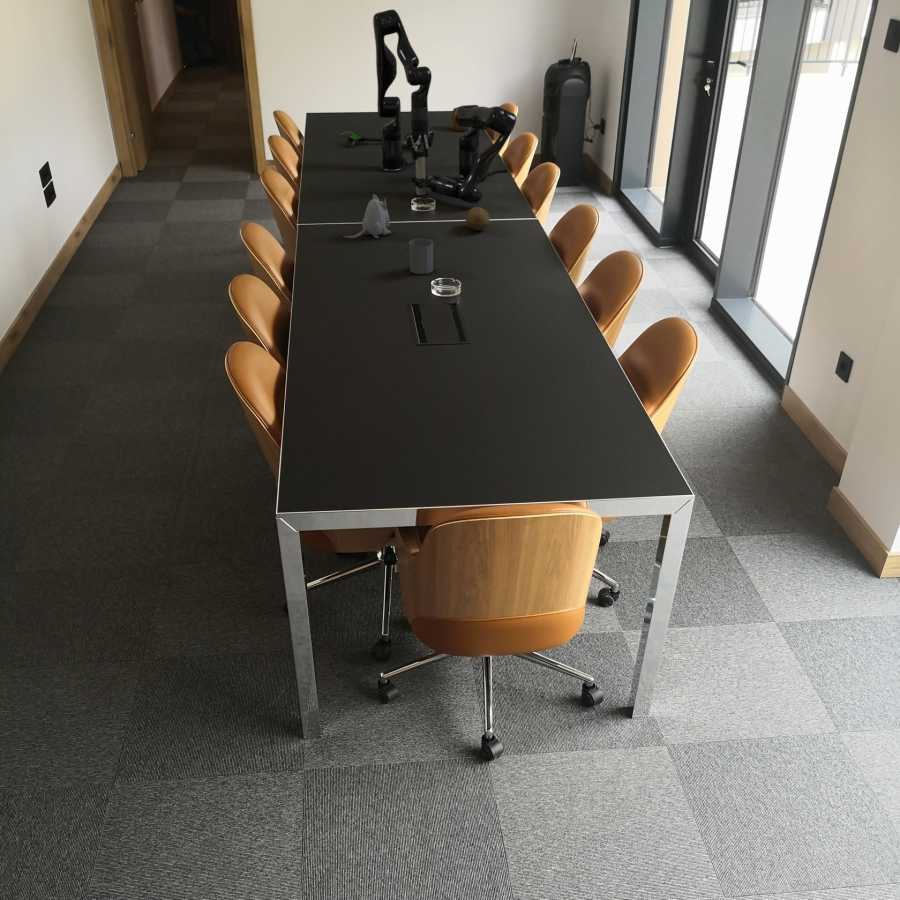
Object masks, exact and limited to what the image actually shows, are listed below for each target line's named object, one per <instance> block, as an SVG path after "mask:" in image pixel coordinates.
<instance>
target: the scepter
mask: <svg viewBox="0 0 900 900" xmlns="http://www.w3.org/2000/svg"><path fill="white" fill-rule="evenodd" d="M345 134H349V135H347V136H346V138H347V140H346V142H348V143H351V144H346V143H343V142H340V141H338V142H337V143H338V144H340V145H342V146H343V147H349V148H351V147H352V148H353V147H354V146H355V145H358V144H361V143H363V142H380V143H382V137H380V138H377V137H364V136H362V135H360V134H358V133H356V132H355V131H352V130H346V131H343V132H341V133H339V134H338V136H341V135H345Z"/></svg>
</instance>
